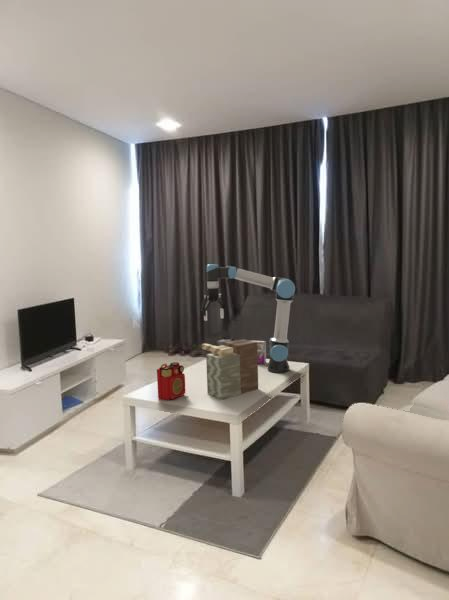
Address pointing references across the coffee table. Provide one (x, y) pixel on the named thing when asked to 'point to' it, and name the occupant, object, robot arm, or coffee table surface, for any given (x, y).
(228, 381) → the stand
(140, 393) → the coffee table surface
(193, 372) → the coffee table surface
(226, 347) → the light wooden block
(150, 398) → the coffee table surface
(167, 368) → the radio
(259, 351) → the candy bar box
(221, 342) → the coffeepot
